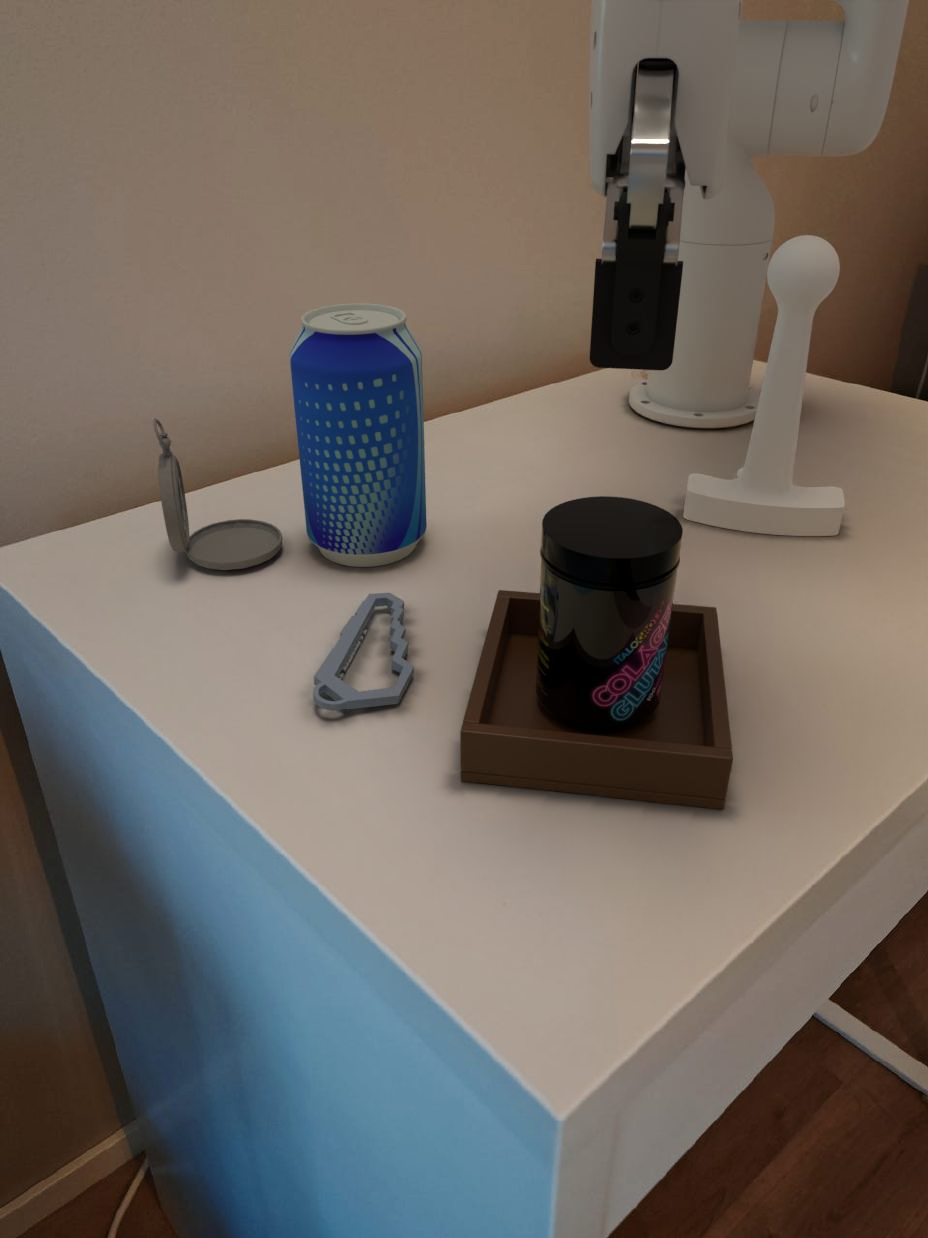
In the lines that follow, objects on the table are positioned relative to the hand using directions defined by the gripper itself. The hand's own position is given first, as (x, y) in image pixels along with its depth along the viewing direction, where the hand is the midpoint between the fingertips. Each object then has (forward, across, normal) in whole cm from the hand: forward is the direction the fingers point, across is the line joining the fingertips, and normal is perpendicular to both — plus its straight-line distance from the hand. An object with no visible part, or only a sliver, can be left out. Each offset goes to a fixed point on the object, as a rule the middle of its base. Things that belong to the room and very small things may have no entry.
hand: (632, 330), depth 42 cm
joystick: (+21, +26, -11) cm, 35 cm away
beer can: (+21, +16, +17) cm, 31 cm away
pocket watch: (+20, +13, +27) cm, 36 cm away
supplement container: (+20, -1, 0) cm, 20 cm away
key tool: (+20, +2, +13) cm, 24 cm away
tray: (+20, -1, 0) cm, 20 cm away
